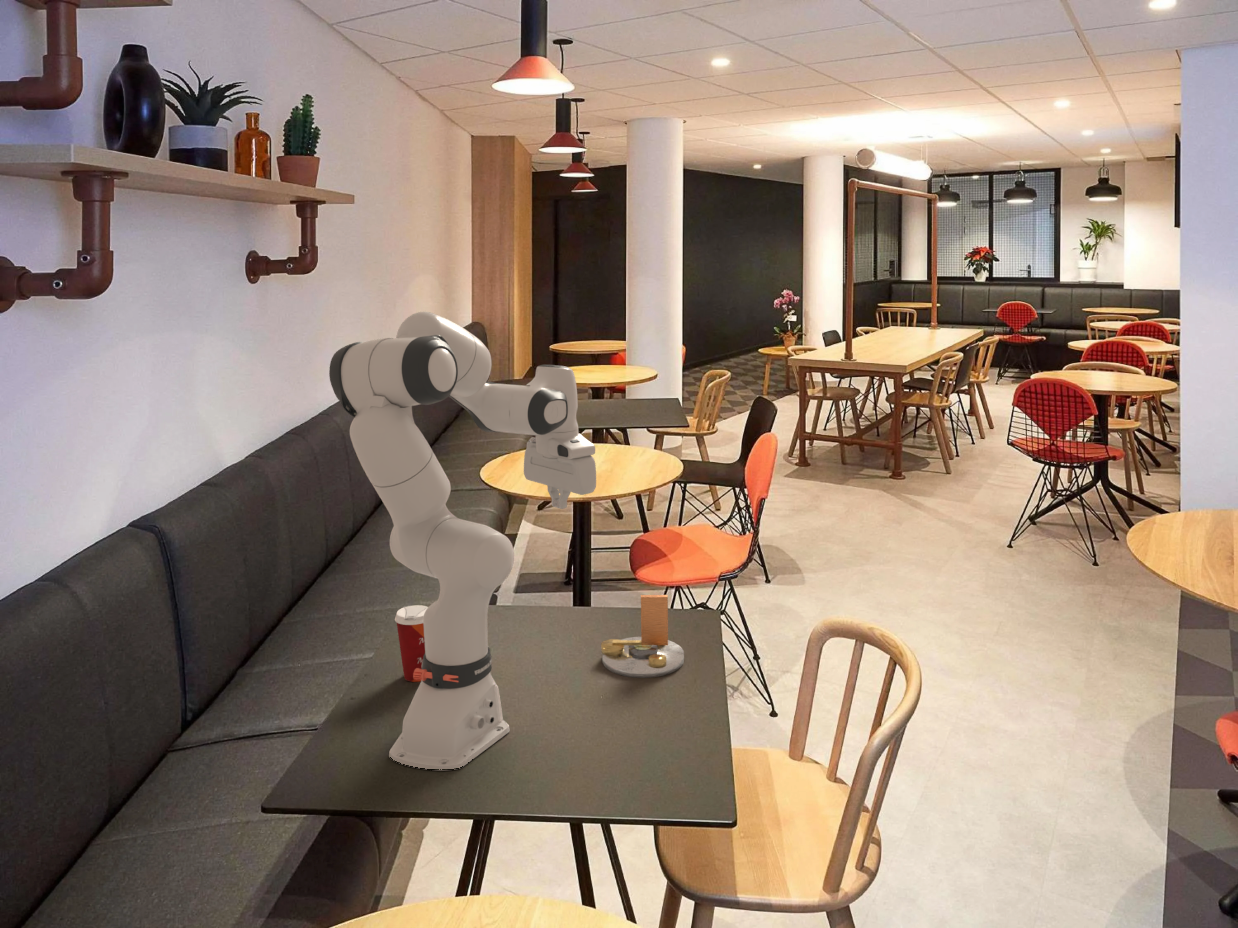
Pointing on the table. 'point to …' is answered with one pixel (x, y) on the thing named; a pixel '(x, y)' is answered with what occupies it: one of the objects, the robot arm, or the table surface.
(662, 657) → the levelling base
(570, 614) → the table surface
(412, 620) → the paper cup
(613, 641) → the vane knob
